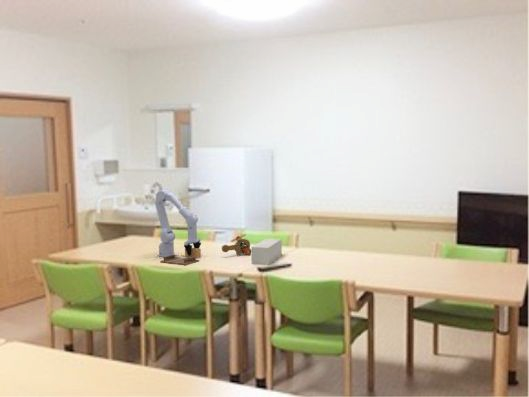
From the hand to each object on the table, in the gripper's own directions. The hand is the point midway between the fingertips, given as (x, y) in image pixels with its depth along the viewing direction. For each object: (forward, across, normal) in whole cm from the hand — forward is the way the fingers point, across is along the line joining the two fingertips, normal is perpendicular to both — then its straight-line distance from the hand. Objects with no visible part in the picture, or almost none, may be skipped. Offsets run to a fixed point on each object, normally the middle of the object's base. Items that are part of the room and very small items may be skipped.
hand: (192, 254), depth 367 cm
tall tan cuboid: (+2, 0, 0) cm, 2 cm away
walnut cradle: (+2, -15, -1) cm, 15 cm away
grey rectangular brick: (+2, +17, -46) cm, 49 cm away
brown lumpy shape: (+2, +18, -23) cm, 29 cm away
